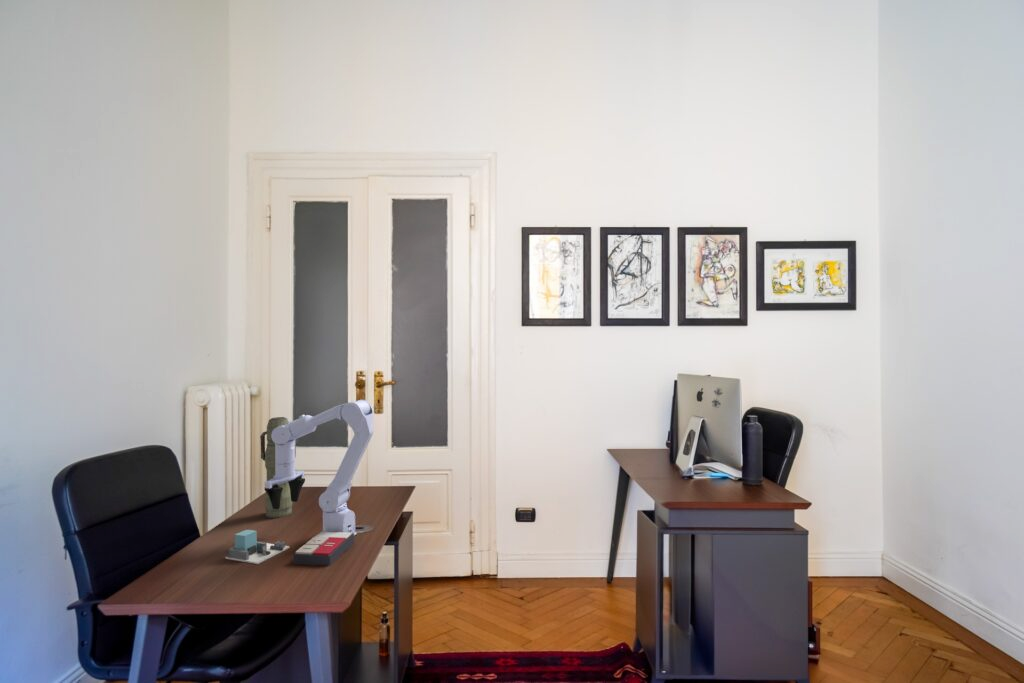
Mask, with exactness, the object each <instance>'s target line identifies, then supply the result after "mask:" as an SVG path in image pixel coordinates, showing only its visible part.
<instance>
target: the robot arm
mask: <svg viewBox="0 0 1024 683" xmlns="http://www.w3.org/2000/svg"><path fill="white" fill-rule="evenodd" d="M374 412H375V411H374V409H373V407H372V405H371V403H370V402H369V401H368V400H366V399H358V400H356V401H351V402H346V403H343V404H338V405H336V406H333V407H331V408H329V409H327V410H324V411H323V412H320V413H318V414H316V415H314V416H313V415H309V414H306V415H305V414H302V415H299V416H298V417H299V418H297V419H295V420H292V421H291V420H288V422H286V425H283V426H278V427H277V428H275V429H274V430H273V431H272V434H271V437H272V440H273V442H274V443H275V476H274V478H272V479H270V480H268V481H267V480H265V482H264V491H265V493H266V495H267V494H268V496H269V498H270V500H271V504H272V507H273V509H279V508H280V498H281V493H282V490H283V488H282V487H279V486H278V485H279V484H282V483H285V482H288V483H289V487H290V495H291V501H292V503H294V502H295V503H297V502H299V497H300V493H301V490H302V488H303V486H304V484H305V482H306V478H305V470H297V471H296V459H295V458H296V456H295V440H297V439H299V438H301V437H304V436H306V435H308V434H310V433H313V432H315V431H316V429H317V427H318V426H319V425H323V424H324V423H328V422H329V421H332V420H335V419H338V420H344V422H345V423H346V424H347V425H348V426H349V428H351V429H352V431H353V434H354V435H353V436H352V439H351V440H350V443H349V446H348V448H347V450H346V452H345V454H344V456H343V458H342V460H341V463H340V465H339V467H338V468H337V472H336V474H335V476H334V477H333V479H332V480H331V482H330V483H329V485H327V487H326V489H325V491H324V492H322V493H321V494H320V496H319V497H318V505H319V507H320V509H321V510H322V532H349V533H354V536H356V535H357V534H358V533H357V532H356V514H355V512H354V511H353V510H351V509H349V508H348V505H347V504H348V503H347V502H348V501H349V499H350V496H351V488H352V486H353V485H352V480H353V478H354V476H355V474H356V471H357V469H358V467H359V464H360V463H361V461H362V458H363V456H364V454H365V451H366V449H367V447H368V446H369V443H370V441H371V438H372V437H373V434H374V420H373V419H374V418H373V417H374Z"/></svg>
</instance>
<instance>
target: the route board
mask: <svg viewBox="0 0 1024 683" xmlns="http://www.w3.org/2000/svg"><path fill="white" fill-rule="evenodd" d="M266 543H267V550H266V548H265V546H262V550H257V552H255V553H253V554H251V555H249V559H248V560H242V559H236V558H230V557H227V556H225V560H226V559H227V560H232V561H238V562H243V563H249V564H255V565H259V564H261V563H263V562H265V561H267V560H269V559H270V558H272V557H275V556H276V555H279V554H280V553H282V552H285V551H286V550H288V549H290V548H291V547H290V546H289V545H286V542H285V541H282V542H281V541H280V540H278V541H276V542H274V543H270V542H269V543H268V542H266Z"/></svg>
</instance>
